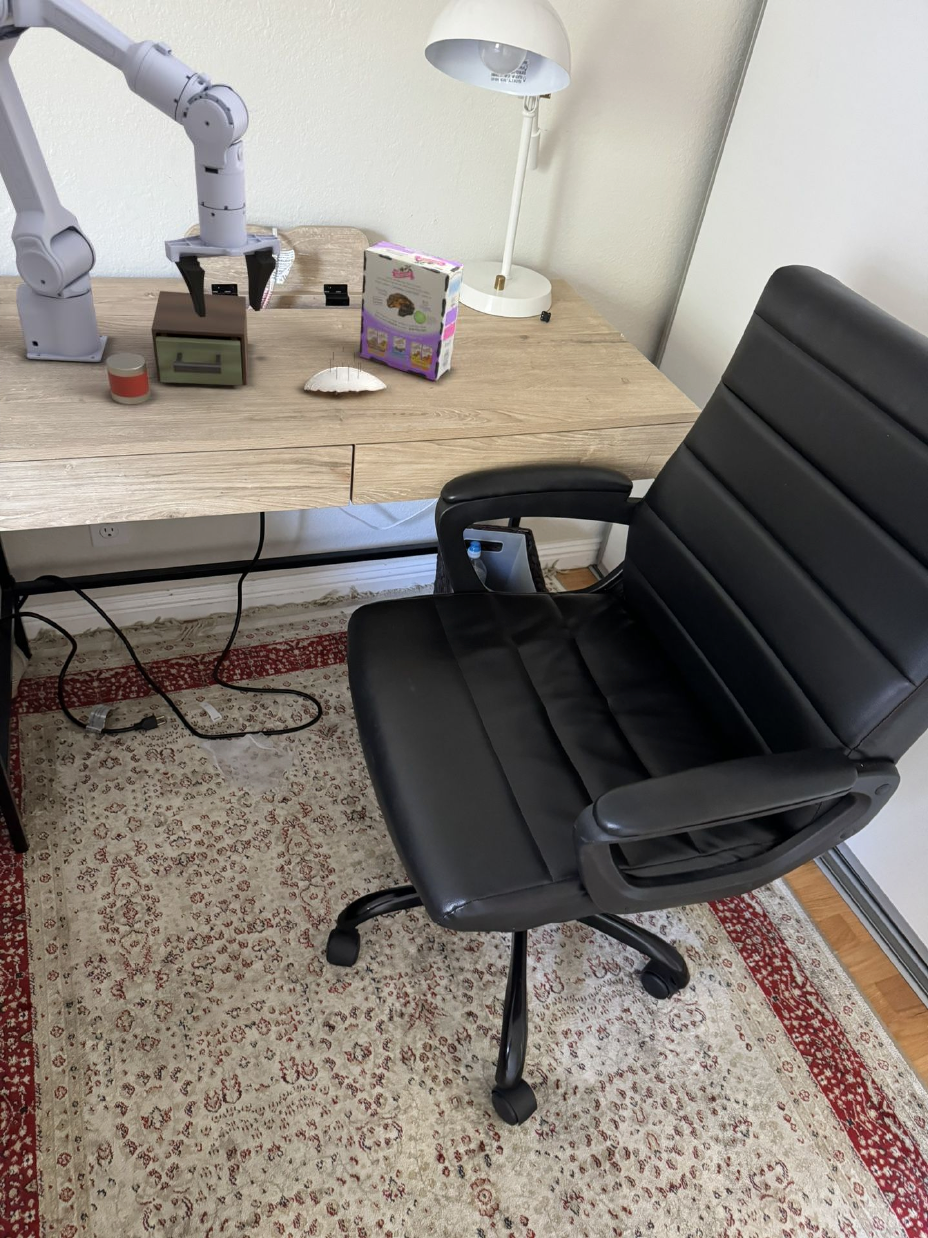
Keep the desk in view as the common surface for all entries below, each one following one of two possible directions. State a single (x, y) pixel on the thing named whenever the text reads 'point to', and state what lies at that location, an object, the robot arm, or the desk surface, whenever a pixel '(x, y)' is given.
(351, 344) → the desk surface
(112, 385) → the can
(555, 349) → the desk surface
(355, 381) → the pincushion
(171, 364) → the drawer
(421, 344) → the candy box
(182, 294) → the cabinet
